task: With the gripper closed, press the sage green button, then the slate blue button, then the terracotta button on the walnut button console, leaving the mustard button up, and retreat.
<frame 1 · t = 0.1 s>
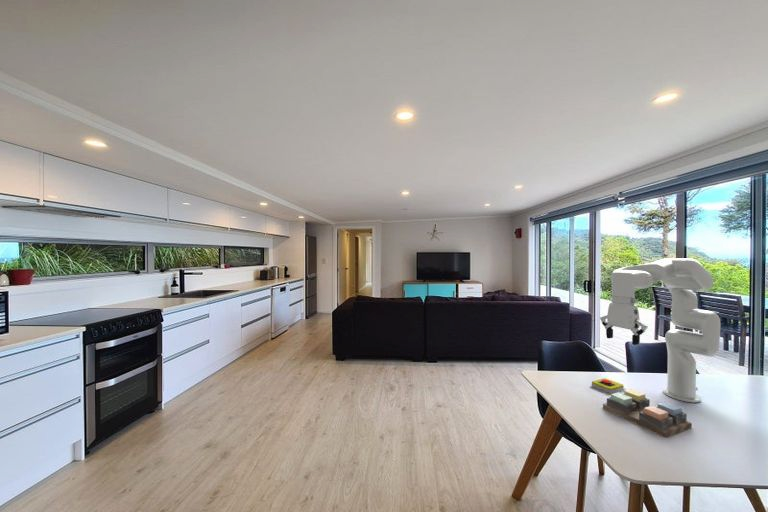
hand: (622, 341, 123), 31 cm above the table, fingers open, 9 cm apart
emergency button: (607, 389, 148), on the table
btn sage: (621, 400, 125), point 5 cm above the table, slide at 0.0 cm
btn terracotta: (655, 414, 114), point 5 cm above the table, slide at 0.0 cm
console: (644, 417, 121), on the table
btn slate: (669, 410, 117), point 5 cm above the table, slide at 0.0 cm
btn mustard: (634, 396, 128), point 5 cm above the table, slide at 0.0 cm
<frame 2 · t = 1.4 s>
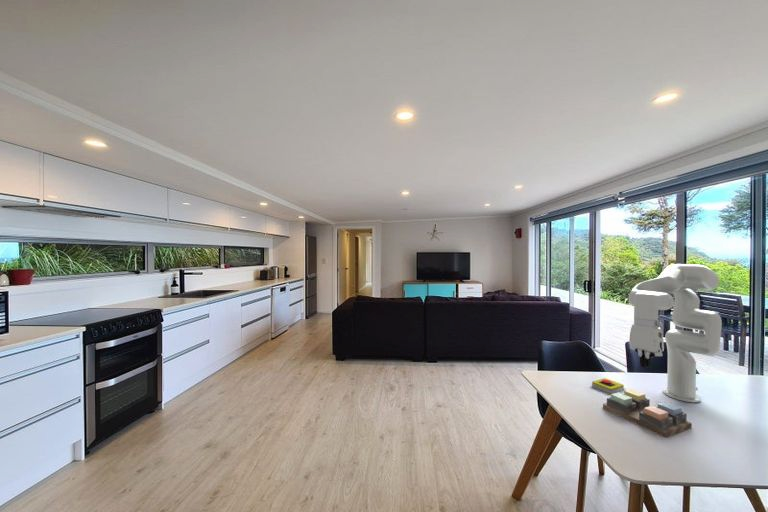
hand: (645, 366, 121), 21 cm above the table, fingers closed
nothing on the table moved.
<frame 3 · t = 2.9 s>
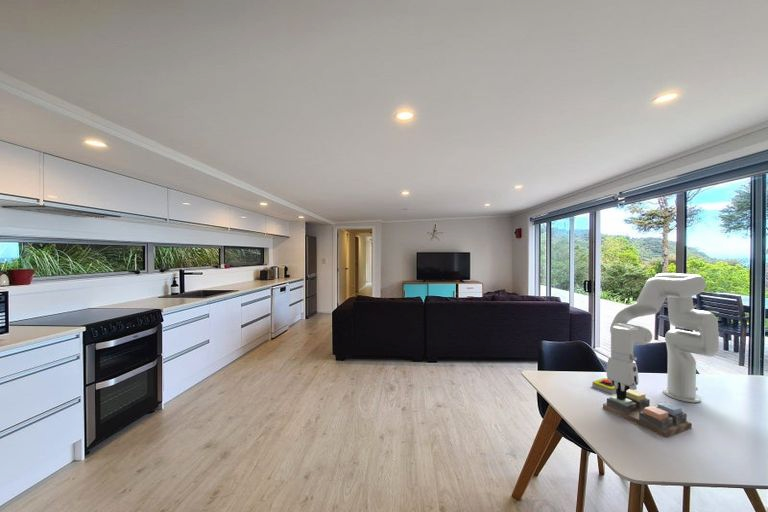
hand: (621, 398, 125), 6 cm above the table, fingers closed
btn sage: (621, 402, 125), point 4 cm above the table, slide at 1.2 cm, touching gripper
everything else where it was.
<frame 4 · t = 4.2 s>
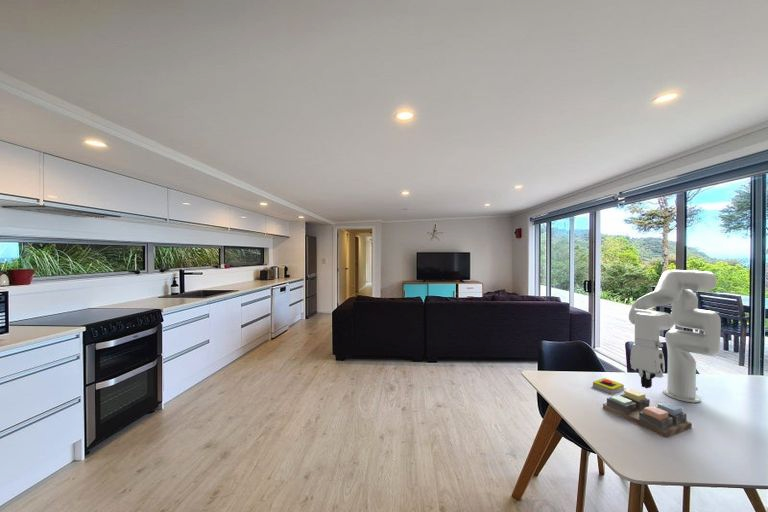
hand: (646, 387, 121), 13 cm above the table, fingers closed
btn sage: (621, 402, 125), point 4 cm above the table, slide at 1.3 cm
everything else where it was.
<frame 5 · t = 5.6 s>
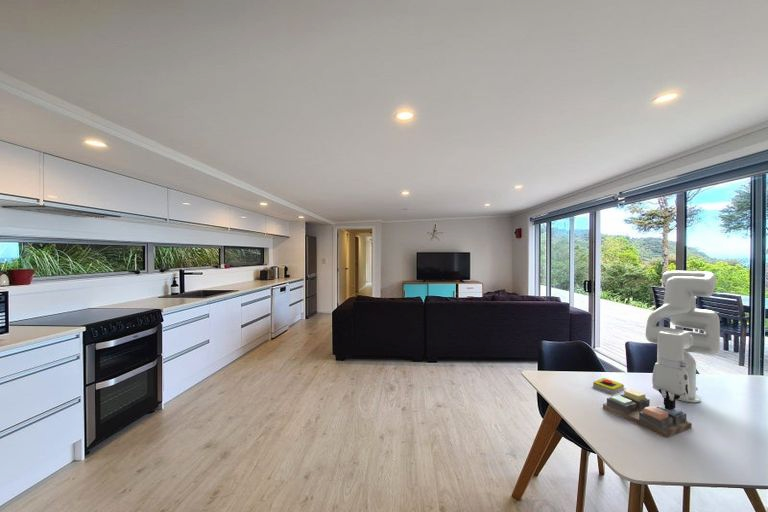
hand: (669, 408, 117), 6 cm above the table, fingers closed
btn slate: (669, 412, 117), point 4 cm above the table, slide at 1.1 cm
everything else where it was.
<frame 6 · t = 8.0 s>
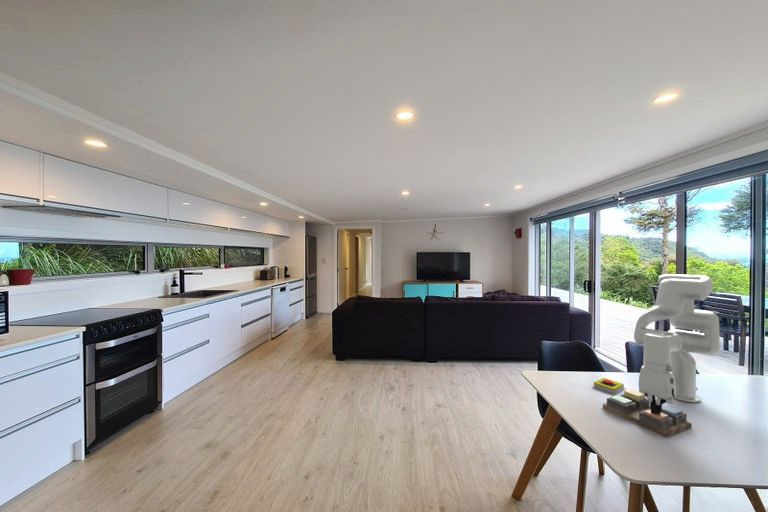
hand: (655, 413, 114), 6 cm above the table, fingers closed
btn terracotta: (655, 417, 114), point 4 cm above the table, slide at 1.2 cm, touching gripper
everything else where it was.
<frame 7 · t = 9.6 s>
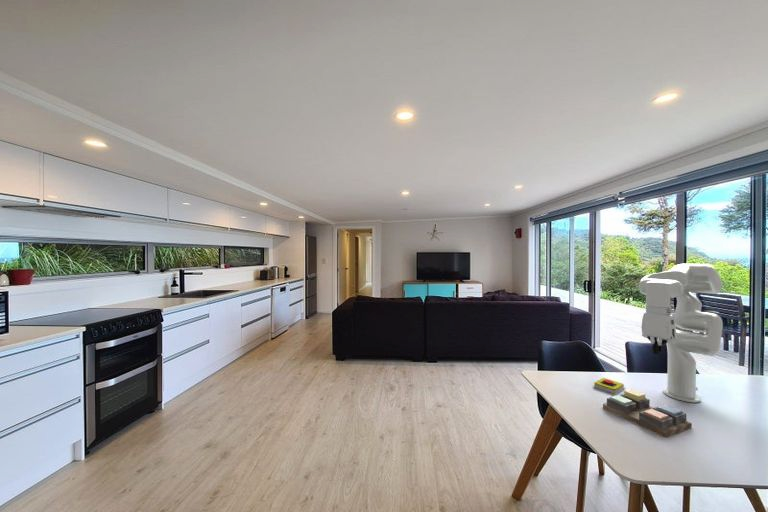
hand: (657, 353, 124), 26 cm above the table, fingers closed
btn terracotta: (655, 417, 114), point 4 cm above the table, slide at 1.2 cm
everything else where it was.
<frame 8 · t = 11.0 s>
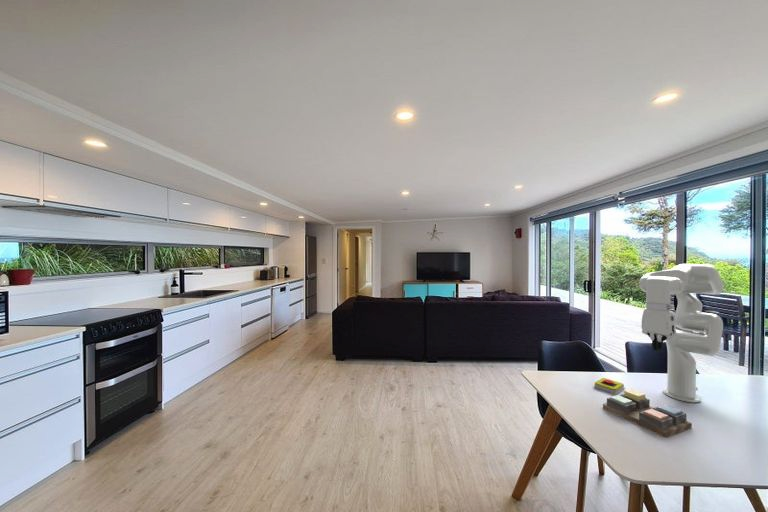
hand: (657, 350, 124), 27 cm above the table, fingers closed
at the end: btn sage slide at 1.3 cm; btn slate slide at 1.3 cm; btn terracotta slide at 1.2 cm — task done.
